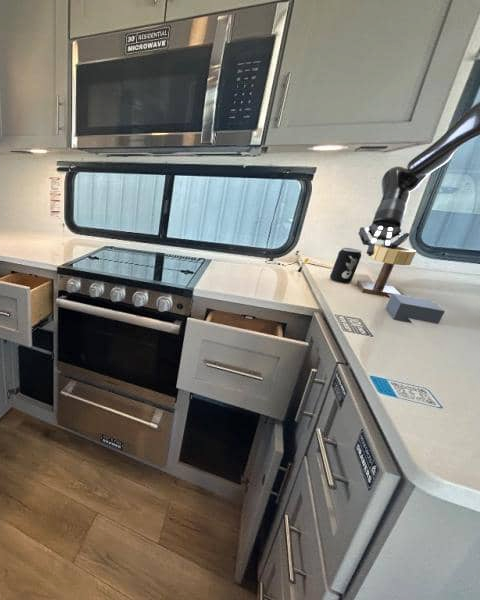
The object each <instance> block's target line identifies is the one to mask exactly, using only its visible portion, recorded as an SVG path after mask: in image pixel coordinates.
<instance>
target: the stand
mask: <svg viewBox="0 0 480 600" xmlns="http://www.w3.org/2000/svg"><path fill="white" fill-rule="evenodd" d="M394 267H395V264H389V263H384V262H383V265H382V267H381V269H380V272H379V274H378V276H377V279H376V281H375V283H374V282H370V281H369V282H368V281H362V280H358V281H357V283H356V286H357V287H358V289H359V290H360V292H361V293H362V294H367V295H374V296H380V297H384V296H385V298H390V297H391V295H392V293H393V294H399V295H402V294H401V293H400V292H399V291H398V290H397V288H395V286H393V285H387V282H388V280H389V278H390V275H391V274H392V271H393V269H394Z"/></svg>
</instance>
